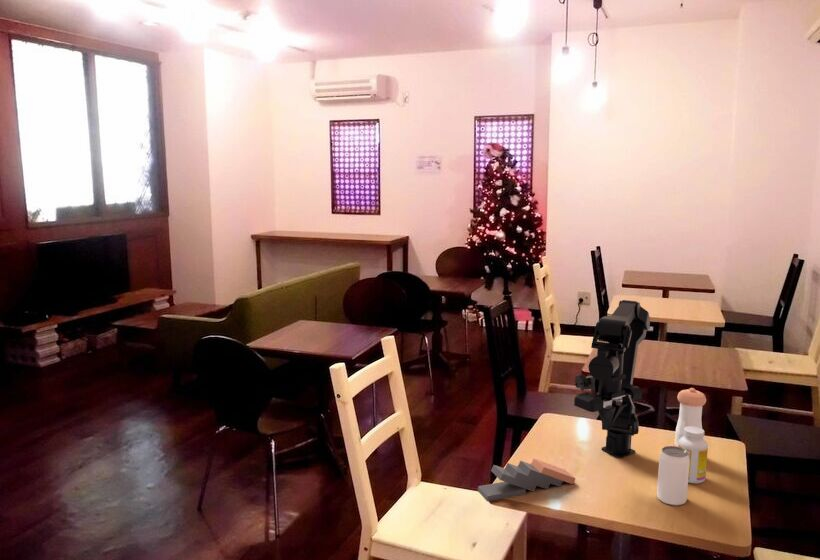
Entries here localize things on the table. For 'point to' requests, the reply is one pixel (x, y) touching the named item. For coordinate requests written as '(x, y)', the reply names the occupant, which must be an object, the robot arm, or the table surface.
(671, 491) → the can
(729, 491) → the table surface
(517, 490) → the domino
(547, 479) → the domino
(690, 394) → the salt shaker
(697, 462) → the supplement bottle
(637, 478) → the table surface
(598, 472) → the table surface
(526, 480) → the domino
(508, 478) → the domino
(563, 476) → the domino
